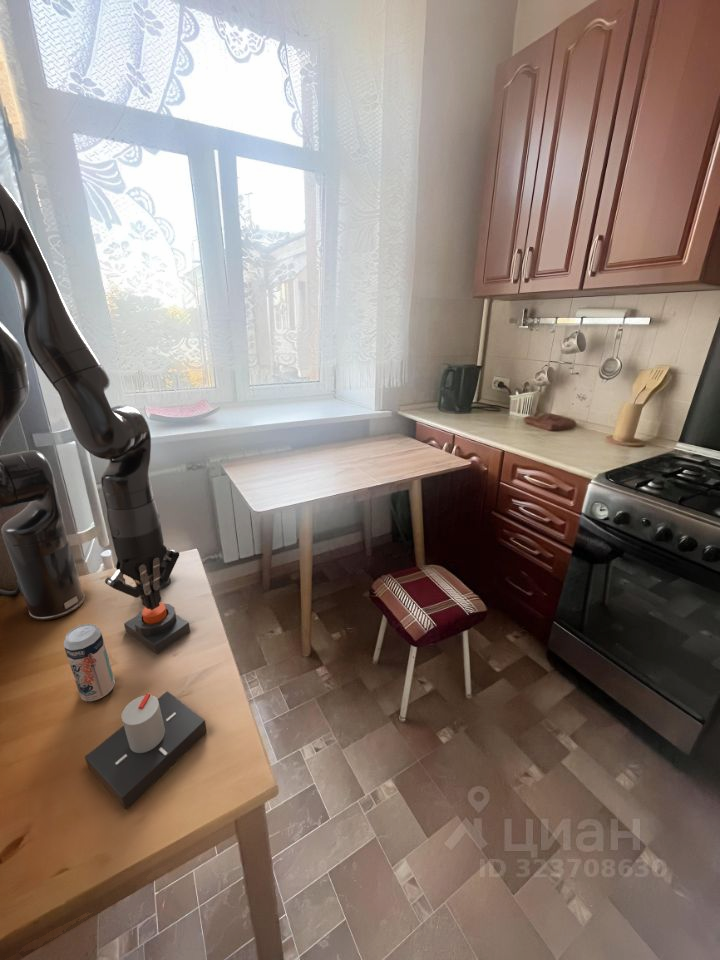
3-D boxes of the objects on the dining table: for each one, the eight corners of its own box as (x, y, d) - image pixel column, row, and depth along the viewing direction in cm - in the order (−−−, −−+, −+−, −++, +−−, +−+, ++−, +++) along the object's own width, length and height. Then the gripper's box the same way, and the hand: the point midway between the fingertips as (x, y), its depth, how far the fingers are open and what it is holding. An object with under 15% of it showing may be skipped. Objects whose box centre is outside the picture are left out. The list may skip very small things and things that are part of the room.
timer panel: (88, 768, 53) (84, 755, 52) (169, 702, 62) (167, 689, 61) (125, 810, 49) (121, 797, 48) (207, 732, 58) (205, 719, 57)
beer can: (73, 696, 63) (54, 638, 58) (102, 674, 67) (85, 618, 62) (94, 707, 61) (76, 648, 57) (122, 683, 65) (107, 627, 61)
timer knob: (155, 753, 52) (148, 723, 50) (122, 753, 52) (114, 723, 50) (170, 722, 57) (164, 693, 54) (139, 722, 56) (132, 692, 54)
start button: (139, 618, 74) (137, 611, 74) (158, 607, 77) (157, 599, 77) (151, 627, 72) (150, 619, 72) (171, 614, 75) (169, 607, 75)
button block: (125, 632, 76) (121, 615, 74) (159, 611, 81) (156, 596, 80) (156, 654, 71) (153, 637, 70) (190, 631, 77) (187, 615, 75)
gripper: (158, 506, 74) (172, 582, 81) (82, 534, 64) (105, 619, 70) (183, 516, 71) (196, 595, 77) (106, 548, 60) (128, 636, 67)
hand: (152, 606), depth 74 cm, fingers closed
